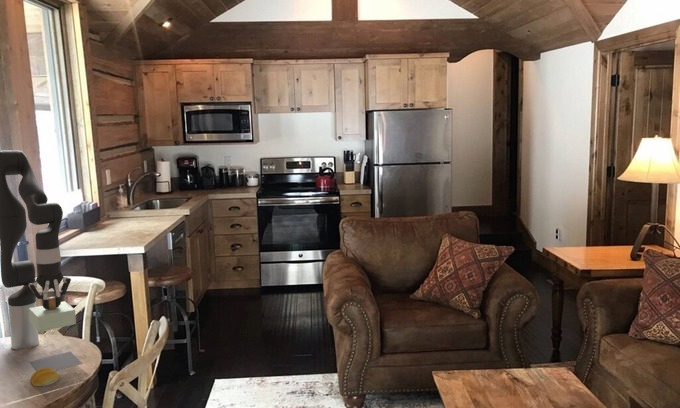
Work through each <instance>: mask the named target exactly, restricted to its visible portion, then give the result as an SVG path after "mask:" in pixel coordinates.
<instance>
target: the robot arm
mask: <svg viewBox="0 0 680 408" xmlns="http://www.w3.org/2000/svg"><path fill="white" fill-rule="evenodd" d="M17 175H18V176H19V175H20V176H22V178H21V179H20V182H19V185H18V189H17V190H18V194H19V197H20V198H21V199H22V200H23V203H24V204H25V206H26V209H25V206H24V205H23V204H22V202H21V201H20V200H19V199H18V197H17V196H16V195H15V194H14V193H13V192H12V191H11V189H10V186H9V184H8V181H7V176H17ZM48 201H49V200H48V196H47V194H46V192H45V191H44V190H43V189H42V187H41V186H40V184H39V182H38V180H37V178H36V176H35V173H34V171H33V168H32V165H31V164H30V161H29V159H28V157H27V155H26V154H25V153H24V152H23V151H22V150H19V149H12V150H11V149H10V150H9V149H7V150H0V276H1V277H0V278H1V283H2V286H3V287H4V288H7V289H9V288H16V287H21V286H22V287H21V289H19V290H18V291H16V292H14V293H12V294H10V296H8V298H7V304H8V305H7V306H8V316H9V319H8V320H9V330H10V331H9V332H10V345H11V349H12V350H17V351H20V350H26V349H31V348H34V347H37V346H39V343H40V341H39V332H38V331H37V330H36V328H35V327H34V326H33V325H32V324H31V323H30V317H29V308H33V307H37V300H36V299H38V300H41V303H42V305H41V306H43V308H45V309H46V310H47V309H48V299H47V298H48V294H49V290H50V289H52V290H53V293H54V296H53V297H56V308H57V307H59V305H60V304H61V302H62V301H61V296H63V295H66V293H67V291H68V289H69V286H70V284H71V281H72V278H70V277H69V276H64V275H63V274H62V256H61V250H60V243H59V242H60V238H59V235H60V229H61V224H62V221H63V214H64V213H63V212H64V211H63V208H62V206H61V205H60V204H59V203H58V202H48ZM26 210H27V212H26ZM27 219H28V221H29V222H30V223H31V224H33V225H36V226H42V225H47V227H46V228H44V229H43V230H39V231H37V232H36V233H35V249H36V251H35V261H36V262H35V263H36V268H35V265H34V263H33V261H32V260H30V259H28V260H21V261H13V255H14V252H15V250H16V248H17V246H18V243H19V242H20V240H21V239H22V237H23V236H24V234H25V232H26V230H27V227H28V225H27V222H28V221H27ZM61 282H62V286H61V288H60V287H59V285H60V284H61ZM38 285H39V286H40V287H41V293H40V292H39V291H38V289H37V288H38Z"/></svg>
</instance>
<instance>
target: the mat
mask: <svg viewBox="0 0 680 408" xmlns="http://www.w3.org/2000/svg"><path fill="white" fill-rule="evenodd" d="M28 363H29V365H31V367H32V368H33V369H34V370H35V372H36V371H38V370H39V369H43V368H52V369H54V370H55V371H56V372H57V371H61V370H64V369H68V368H71V367H72V368H73V367H77V366H79V365H83V362H82V361H81V360H80V359H79V358H77V356H76V355H75V354H73V353H72V352H71V351H66V352H63V353H58V354H55V355H51V356H50V355H49V356H47V357H43V358H39V359H35V360H31V361H28Z"/></svg>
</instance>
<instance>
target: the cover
mask: <svg viewBox="0 0 680 408" xmlns="http://www.w3.org/2000/svg"><path fill="white" fill-rule="evenodd" d="M47 299H48V309H47V310H46V309H45V308H43V306H42V305H39V306H38V305H37V306H36V307H33V308H29V317H30V323H31V324H32V325H33V326H34V327H35V328H36V330H37V331H38V333H42V332H45V331H51V330H55V329H60V328H63V327H65V328H66V327H68V326H73V325H76V324H77V320H76V318H77V317H76V309H75V308H74V307H72V306H71V305H70V304H69V303H68V302H67V301H65V300H64V301H60V302H61V304H60V305H59V307H57V308H56V297H54V296H50V297H48V296H47Z"/></svg>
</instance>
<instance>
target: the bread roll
mask: <svg viewBox="0 0 680 408" xmlns="http://www.w3.org/2000/svg"><path fill="white" fill-rule="evenodd" d="M59 380H60V373H58V372H57V371H55V370H54V369H52V368H43V369H39V370H38V371H36V370H35V372H34V373H33V374H32V375H31V376H30V382H31V383H32V385H33V386H34V387H47V386H50V385H53V384H54V383H56V382H58V381H59Z"/></svg>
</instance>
